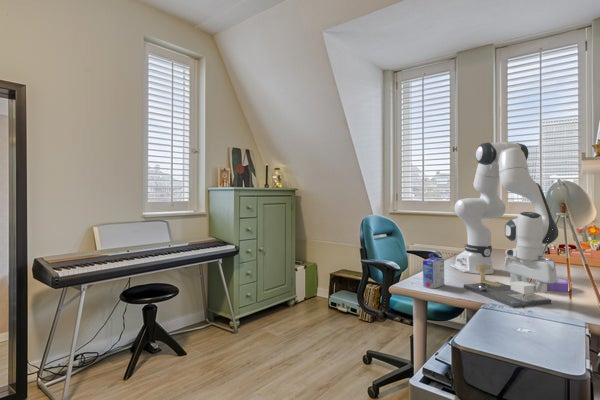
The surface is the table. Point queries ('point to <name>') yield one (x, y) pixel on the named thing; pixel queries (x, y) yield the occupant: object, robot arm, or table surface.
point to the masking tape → (558, 285)
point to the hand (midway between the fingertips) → (528, 288)
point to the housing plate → (507, 295)
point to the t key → (482, 269)
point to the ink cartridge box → (433, 272)
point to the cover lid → (527, 287)
